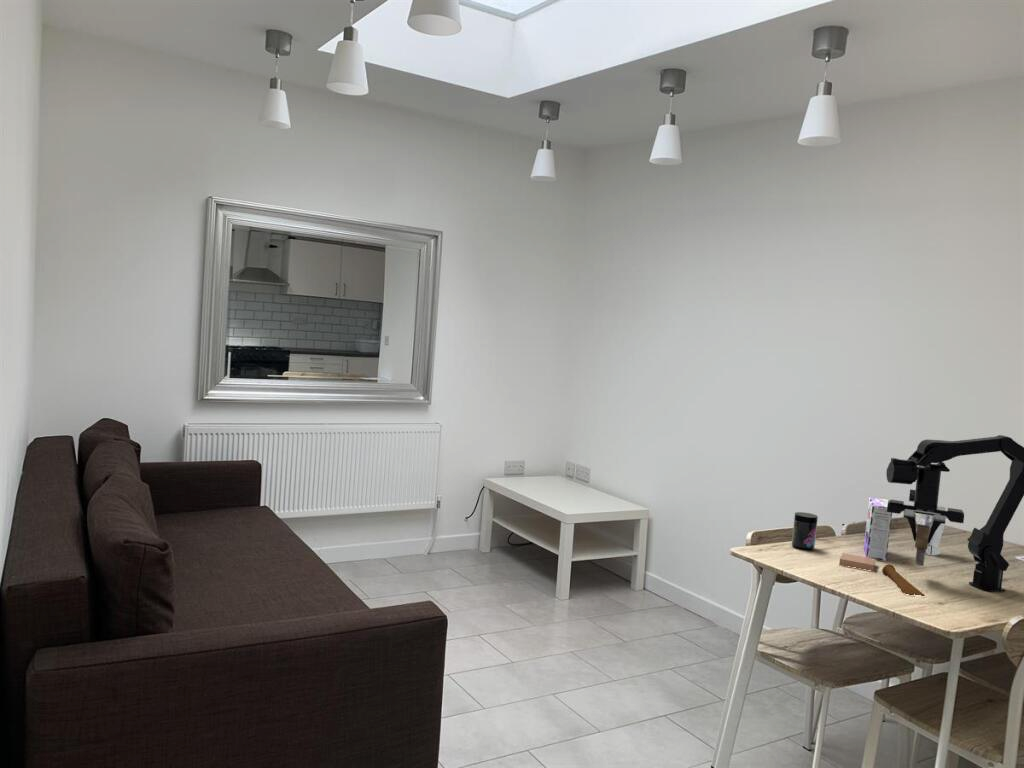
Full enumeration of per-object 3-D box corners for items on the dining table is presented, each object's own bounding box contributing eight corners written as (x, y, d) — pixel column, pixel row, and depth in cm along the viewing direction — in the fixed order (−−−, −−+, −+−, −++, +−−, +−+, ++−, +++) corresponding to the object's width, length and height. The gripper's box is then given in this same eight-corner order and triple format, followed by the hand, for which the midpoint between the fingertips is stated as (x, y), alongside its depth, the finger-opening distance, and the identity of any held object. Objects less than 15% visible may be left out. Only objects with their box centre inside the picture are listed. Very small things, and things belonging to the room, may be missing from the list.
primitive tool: (926, 599, 208) (928, 585, 208) (905, 597, 209) (907, 584, 208) (893, 576, 228) (894, 564, 227) (874, 574, 228) (875, 562, 227)
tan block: (875, 559, 236) (842, 552, 240) (873, 565, 229) (839, 558, 233) (874, 566, 236) (842, 560, 240) (872, 573, 229) (839, 566, 233)
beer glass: (934, 557, 251) (939, 509, 249) (912, 551, 256) (917, 504, 255) (945, 555, 255) (950, 508, 254) (923, 549, 260) (928, 503, 259)
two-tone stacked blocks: (926, 558, 227) (929, 523, 226) (925, 566, 219) (929, 529, 218) (914, 556, 228) (917, 521, 227) (913, 564, 220) (916, 528, 219)
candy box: (862, 547, 256) (868, 496, 255) (883, 550, 254) (889, 499, 253) (865, 558, 243) (871, 504, 242) (887, 561, 241) (893, 507, 240)
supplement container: (799, 551, 246) (803, 517, 245) (786, 544, 252) (790, 511, 252) (818, 551, 247) (822, 517, 247) (805, 545, 254) (809, 512, 253)
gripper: (965, 486, 225) (959, 542, 226) (891, 477, 233) (886, 530, 234) (966, 493, 215) (960, 550, 216) (889, 482, 223) (884, 537, 224)
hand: (921, 541), depth 223 cm, fingers closed on two-tone stacked blocks, 3 cm apart
